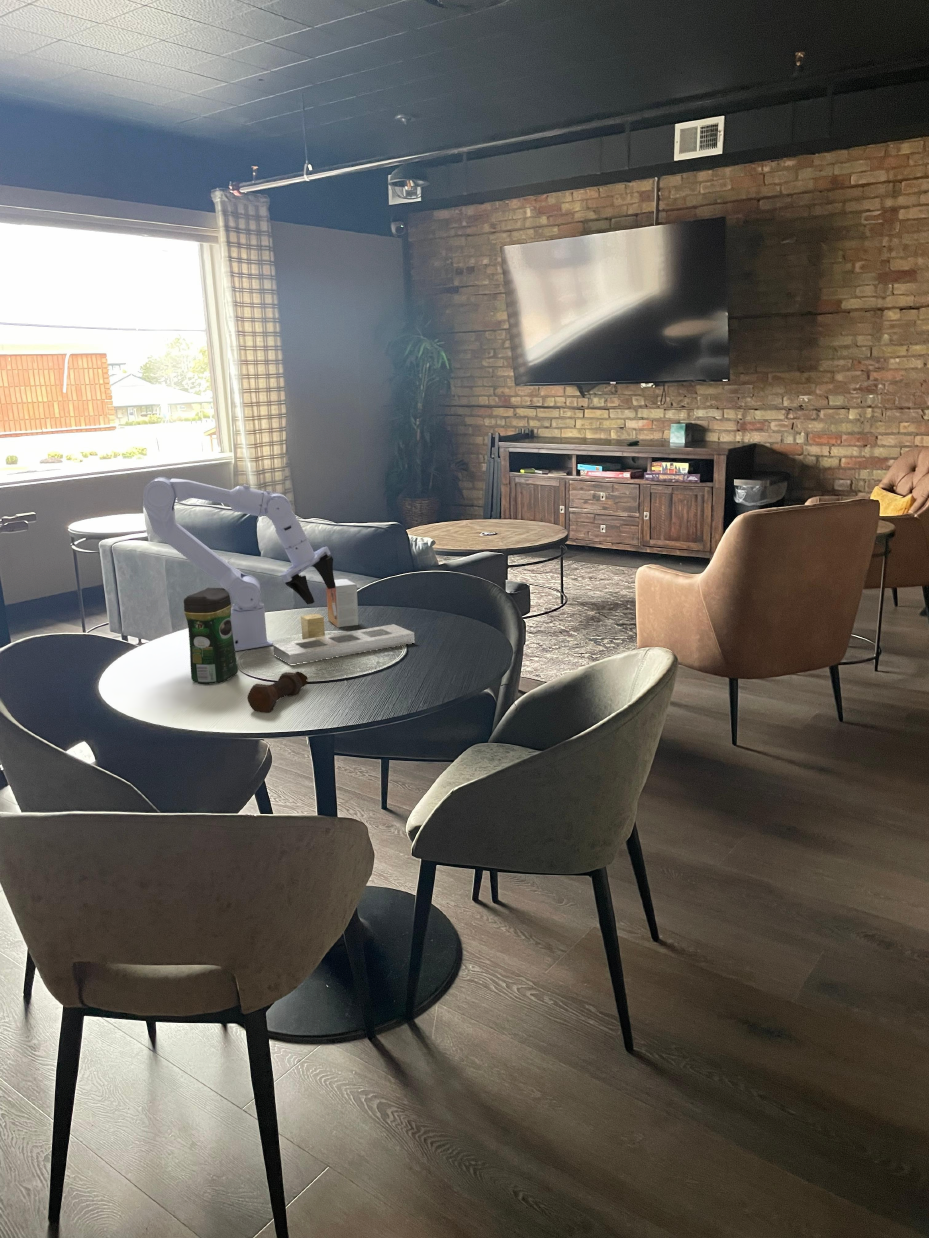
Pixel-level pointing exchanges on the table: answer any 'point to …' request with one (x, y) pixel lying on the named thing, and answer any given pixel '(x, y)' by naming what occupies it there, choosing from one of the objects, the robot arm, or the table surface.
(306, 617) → the block
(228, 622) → the coffee jar
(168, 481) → the robot arm
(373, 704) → the table surface
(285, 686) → the bolt
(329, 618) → the small box
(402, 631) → the board
